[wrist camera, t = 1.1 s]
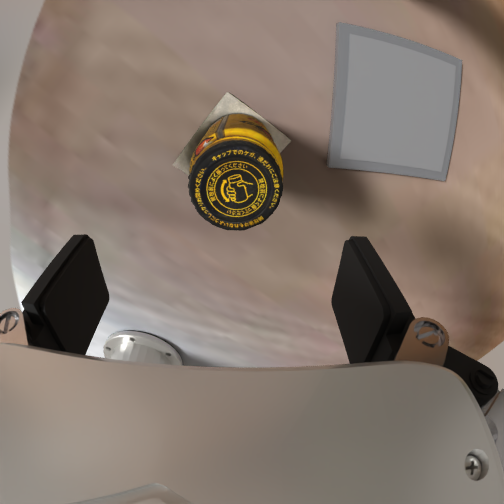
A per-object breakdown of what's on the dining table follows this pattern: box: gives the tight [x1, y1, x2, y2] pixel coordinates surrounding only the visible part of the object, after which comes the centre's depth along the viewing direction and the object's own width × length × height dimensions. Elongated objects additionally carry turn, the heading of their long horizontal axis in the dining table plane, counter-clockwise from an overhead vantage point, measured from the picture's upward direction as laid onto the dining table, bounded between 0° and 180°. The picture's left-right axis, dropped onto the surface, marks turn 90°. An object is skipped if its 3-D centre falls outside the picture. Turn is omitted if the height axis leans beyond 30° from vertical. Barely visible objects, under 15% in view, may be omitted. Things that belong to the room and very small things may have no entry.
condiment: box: [173, 92, 291, 230], centre depth 21 cm, size 7×8×12 cm
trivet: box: [327, 22, 462, 181], centre depth 23 cm, size 14×14×1 cm
